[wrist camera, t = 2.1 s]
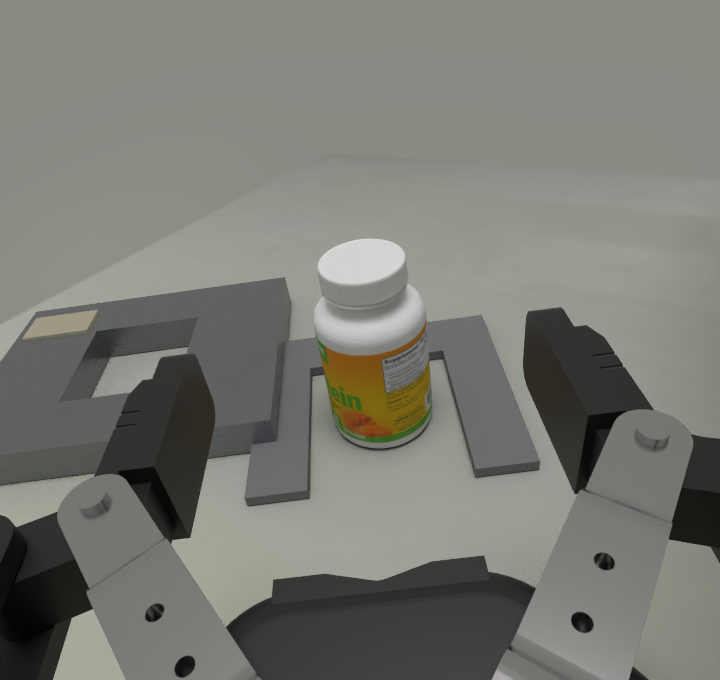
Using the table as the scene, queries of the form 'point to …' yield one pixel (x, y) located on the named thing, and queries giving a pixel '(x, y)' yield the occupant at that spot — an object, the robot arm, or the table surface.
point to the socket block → (136, 335)
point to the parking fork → (470, 390)
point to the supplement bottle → (373, 344)
